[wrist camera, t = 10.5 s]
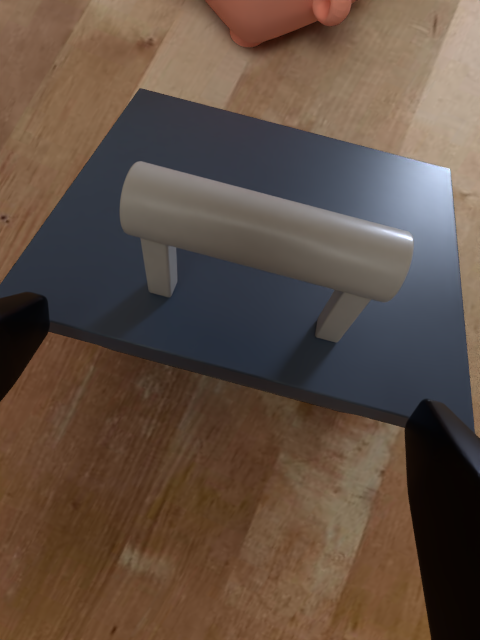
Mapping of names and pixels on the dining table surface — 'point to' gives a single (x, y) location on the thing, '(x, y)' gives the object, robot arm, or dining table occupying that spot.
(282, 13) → the teapot
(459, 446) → the robot arm
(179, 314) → the lid
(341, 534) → the dining table surface
